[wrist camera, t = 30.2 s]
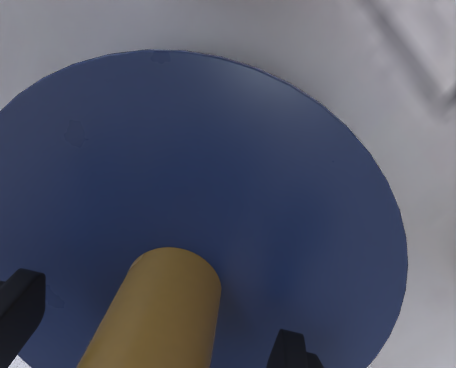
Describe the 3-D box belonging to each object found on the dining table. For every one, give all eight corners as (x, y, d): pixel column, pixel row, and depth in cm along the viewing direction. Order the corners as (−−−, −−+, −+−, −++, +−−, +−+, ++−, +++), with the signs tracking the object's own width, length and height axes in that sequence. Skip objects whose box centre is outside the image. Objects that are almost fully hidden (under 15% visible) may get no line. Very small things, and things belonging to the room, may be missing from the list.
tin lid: (-12, 365, 18) (-150, 537, 12) (-42, -9, 11) (-399, -51, 5) (317, 440, 18) (345, 646, 12) (483, 116, 11) (738, 216, 5)
